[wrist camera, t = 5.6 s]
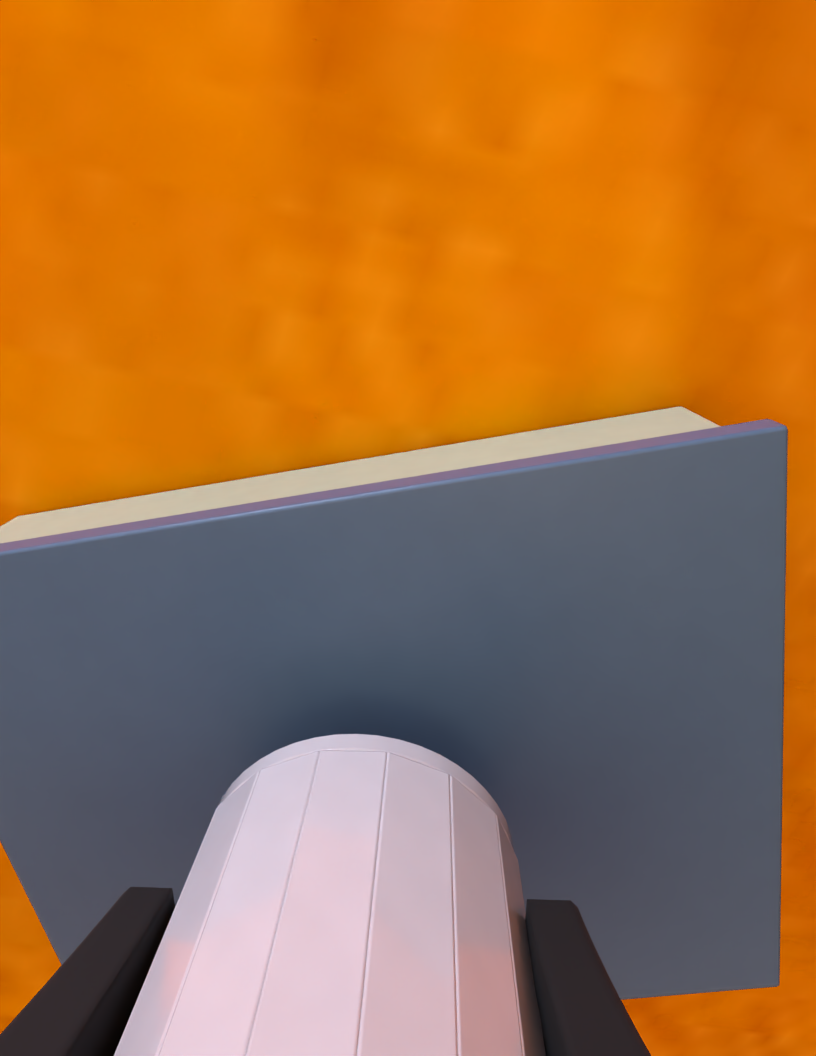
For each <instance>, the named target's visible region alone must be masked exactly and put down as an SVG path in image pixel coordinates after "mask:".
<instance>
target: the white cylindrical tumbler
mask: <svg viewBox="0 0 816 1056" xmlns="http://www.w3.org/2000/svg"><path fill="white" fill-rule="evenodd" d="M525 916H526V912H525V905H524V898H523V891H522V884H521V877H520V870H519V864H518V859H517V857H516V855H515V853H514V847H513V842H512V836H511V833H510V830H509V827H508V825H507V822H506V819H505V817H504V815H503V814H502V812H501V810H500V808H499V807H498V805H497V803H496V802H495V801H494V799H493V798H492V797H491V795H490V794H489V793H488V792H487V790H486V789H485V788H484V787H483V786H482V785H481V784H480V783H479V782H478V781H477V780H476V779H475V778H474V777H473V776H472V775H471V774H469V773H468V772H467V771H465V770H464V769H463V768H461V767H460V766H459V765H457V764H456V763H454V762H452V761H451V760H449V759H447V758H445V757H444V756H442V755H440V754H438V753H436V752H434V751H432V750H429V749H427V748H425V747H422V746H420V745H417V744H413V743H410V742H407V741H404V740H400V739H396V738H390V737H385V736H380V735H369V734H334V735H327V736H320V737H314V738H310V739H306V740H302V741H299V742H295V743H292V744H290V745H287V746H285V747H282V748H280V749H277V750H275V751H274V752H272V753H270V754H268V755H266V756H265V757H263V758H261V759H260V760H258V761H257V762H256V763H254V764H253V765H252V766H250V767H249V768H248V769H246V770H245V771H244V772H243V773H242V774H241V775H240V776H239V777H238V778H237V779H236V780H235V781H234V782H233V783H232V784H231V786H230V787H229V788H228V790H227V791H226V793H225V794H224V795H223V797H222V799H221V801H220V803H219V805H218V807H217V808H216V810H215V812H214V815H213V817H212V819H211V822H210V824H209V827H208V829H207V832H206V834H205V836H204V839H203V841H202V844H201V846H200V848H199V851H198V853H197V856H196V858H195V860H194V863H193V865H192V868H191V870H190V873H189V875H188V877H187V880H186V882H185V885H184V887H183V889H182V892H181V894H180V897H179V899H178V901H177V904H176V906H175V909H174V911H173V914H172V916H171V918H170V921H169V923H168V926H167V928H166V930H165V933H164V935H163V938H162V940H161V942H160V945H159V947H158V950H157V952H156V955H155V957H154V959H153V962H152V964H151V967H150V969H149V971H148V974H147V976H146V979H145V981H144V983H143V986H142V988H141V991H140V993H139V996H138V998H137V1000H136V1003H135V1005H134V1008H133V1010H132V1012H131V1015H130V1017H129V1020H128V1022H127V1025H126V1027H125V1029H124V1032H123V1034H122V1037H121V1039H120V1041H119V1044H118V1046H117V1049H116V1051H115V1053H114V1056H546V1052H545V1045H544V1038H543V1032H542V1025H541V1019H540V1013H539V1008H538V1003H537V997H536V992H535V985H534V978H533V971H532V964H531V957H530V950H529V942H528V935H527V928H526V921H525Z"/></svg>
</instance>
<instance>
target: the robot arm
mask: <svg viewBox="0 0 816 1056" xmlns="http://www.w3.org/2000/svg"><path fill="white" fill-rule="evenodd" d="M174 909H175V902H174V896H173V890H172V888H156V887H130V888H129V889H127V890H126V891H125V892H124V893H123V894H122V895H121V897H120V898H119V899H118V900H117V901H116V902H115V904H114V905H113V906H112V907H111V908H110V910H109V911H108V912H107V913H106V914H105V915H104V917H103V918H102V919H101V920H100V921H99V923H98V924H97V925H96V926H95V927H94V928H93V930H92V931H91V932H90V933H89V934H88V935H87V937H86V938H85V939H84V940H83V941H82V943H81V944H80V945H79V946H78V947H77V948H76V950H75V951H74V952H73V953H72V954H71V955H70V957H69V958H68V959H67V960H66V961H65V962H64V963H63V965H62V966H61V967H60V968H59V969H58V970H57V971H56V973H55V974H54V975H53V976H52V977H51V978H50V979H49V981H48V982H47V983H46V984H45V985H44V986H43V988H42V989H41V990H40V991H39V992H38V993H37V994H36V995H35V996H34V998H33V999H32V1000H31V1001H30V1002H29V1003H28V1004H27V1005H26V1006H25V1007H24V1009H23V1010H22V1011H21V1012H20V1013H19V1014H18V1015H17V1016H16V1017H15V1019H14V1020H13V1021H12V1022H11V1023H10V1024H9V1025H8V1026H7V1027H6V1029H5V1030H4V1031H3V1032H2V1033H1V1034H0V1056H114V1053H115V1051H116V1049H117V1046H118V1044H119V1041H120V1039H121V1037H122V1034H123V1032H124V1029H125V1027H126V1025H127V1022H128V1020H129V1017H130V1015H131V1012H132V1010H133V1008H134V1005H135V1003H136V1000H137V998H138V996H139V993H140V991H141V988H142V986H143V983H144V981H145V979H146V976H147V974H148V971H149V969H150V967H151V964H152V962H153V959H154V957H155V955H156V952H157V950H158V947H159V945H160V942H161V940H162V938H163V935H164V933H165V930H166V928H167V926H168V923H169V921H170V918H171V916H172V914H173V911H174ZM525 921H526V928H527V935H528V942H529V950H530V957H531V964H532V971H533V978H534V985H535V992H536V997H537V1003H538V1008H539V1013H540V1019H541V1025H542V1032H543V1038H544V1045H545V1052H546V1056H651V1055H650V1053H649V1051H648V1049H647V1048H646V1046H645V1044H644V1042H643V1040H642V1039H641V1037H640V1035H639V1033H638V1031H637V1030H636V1028H635V1026H634V1024H633V1022H632V1020H631V1018H630V1016H629V1015H628V1013H627V1011H626V1009H625V1007H624V1005H623V1003H622V1001H621V999H620V997H619V995H618V993H617V991H616V989H615V987H614V985H613V983H612V981H611V979H610V977H609V975H608V973H607V971H606V969H605V967H604V965H603V963H602V961H601V959H600V957H599V955H598V952H597V950H596V948H595V946H594V944H593V942H592V939H591V937H590V935H589V933H588V930H587V928H586V926H585V924H584V921H583V919H582V916H581V914H580V911H579V909H578V907H577V906H576V905H575V904H574V903H573V902H572V901H571V900H542V899H527V904H526V916H525Z"/></svg>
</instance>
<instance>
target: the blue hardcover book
mask: <svg viewBox="0 0 816 1056" xmlns="http://www.w3.org/2000/svg"><path fill="white" fill-rule="evenodd" d="M787 441H788V430H787V427H786V426H785V425H783V424H780V423H778V422H775V421H773V420H770V419H764V420H758V421H752V422H746V423H740V424H733V425H727V426H719V425H717V424H715V423H713V422H711V421H709V420H707V419H705V418H703V417H701V416H699V415H697V414H695V413H694V412H692V411H690V410H688V409H686V408H684V407H681V406H679V407H673V408H667V409H661V410H655V411H649V412H643V413H637V414H631V415H625V416H619V417H613V418H607V419H601V420H595V421H589V422H583V423H577V424H571V425H565V426H559V427H553V428H546V429H540V430H534V431H528V432H522V433H516V434H510V435H504V436H498V437H492V438H486V439H480V440H474V441H468V442H462V443H456V444H450V445H444V446H438V447H432V448H426V449H420V450H414V451H408V452H402V453H396V454H390V455H384V456H378V457H372V458H366V459H360V460H354V461H348V462H342V463H336V464H330V465H324V466H318V467H312V468H306V469H300V470H293V471H287V472H281V473H275V474H269V475H263V476H257V477H251V478H245V479H239V480H233V481H227V482H221V483H215V484H209V485H203V486H197V487H191V488H185V489H179V490H173V491H167V492H161V493H155V494H149V495H143V496H137V497H131V498H125V499H119V500H113V501H107V502H101V503H95V504H89V505H83V506H77V507H71V508H65V509H59V510H53V511H46V512H40V513H34V514H28V515H22V516H18V517H16V518H14V519H12V520H11V521H9V522H7V523H5V524H4V525H2V526H0V841H1V843H2V845H3V847H4V850H5V852H6V854H7V856H8V858H9V860H10V862H11V864H12V866H13V868H14V870H15V872H16V874H17V876H18V878H19V880H20V882H21V884H22V886H23V888H24V890H25V892H26V894H27V896H28V898H29V900H30V902H31V904H32V906H33V908H34V910H35V912H36V914H37V916H38V918H39V920H40V922H41V924H42V926H43V928H44V930H45V932H46V934H47V936H48V938H49V940H50V942H51V944H52V946H53V948H54V950H55V952H56V954H57V956H58V958H59V960H60V963H61V965H63V963H64V962H65V961H66V960H67V959H68V958H69V957H70V955H71V954H72V953H73V952H74V951H75V950H76V948H77V947H78V946H79V945H80V944H81V943H82V941H83V940H84V939H85V938H86V937H87V935H88V934H89V933H90V932H91V931H92V930H93V928H94V927H95V926H96V925H97V924H98V923H99V921H100V920H101V919H102V918H103V917H104V915H105V914H106V913H107V912H108V911H109V910H110V908H111V907H112V906H113V905H114V904H115V902H116V901H117V900H118V899H119V898H120V897H121V895H122V894H123V893H124V892H125V891H126V890H127V889H129V888H130V887H156V888H172V890H173V896H174V902H175V906H176V904H177V901H178V899H179V897H180V894H181V892H182V889H183V887H184V885H185V882H186V880H187V877H188V875H189V873H190V870H191V868H192V865H193V863H194V860H195V858H196V856H197V853H198V851H199V848H200V846H201V844H202V841H203V839H204V836H205V834H206V832H207V829H208V827H209V824H210V822H211V819H212V817H213V815H214V812H215V810H216V808H217V807H218V805H219V803H220V801H221V799H222V797H223V795H224V794H225V793H226V791H227V790H228V788H229V787H230V786H231V784H232V783H233V782H234V781H235V780H236V779H237V778H238V777H239V776H240V775H241V774H242V773H243V772H244V771H245V770H246V769H248V768H249V767H250V766H252V765H253V764H254V763H256V762H257V761H258V760H260V759H261V758H263V757H265V756H266V755H268V754H270V753H272V752H274V751H275V750H277V749H280V748H282V747H285V746H287V745H290V744H292V743H295V742H299V741H302V740H306V739H310V738H314V737H320V736H327V735H334V734H369V735H380V736H385V737H390V738H396V739H400V740H404V741H407V742H410V743H413V744H417V745H420V746H422V747H425V748H427V749H429V750H432V751H434V752H436V753H438V754H440V755H442V756H444V757H445V758H447V759H449V760H451V761H452V762H454V763H456V764H457V765H459V766H460V767H461V768H463V769H464V770H465V771H467V772H468V773H469V774H471V775H472V776H473V777H474V778H475V779H476V780H477V781H478V782H479V783H480V784H481V785H482V786H483V787H484V788H485V789H486V790H487V792H488V793H489V794H490V795H491V797H492V798H493V799H494V801H495V802H496V803H497V805H498V807H499V808H500V810H501V812H502V814H503V815H504V817H505V819H506V822H507V825H508V827H509V830H510V833H511V836H512V842H513V847H514V853H515V855H516V857H517V859H518V864H519V870H520V877H521V884H522V891H523V898H524V905H525V912H526V904H527V899H542V900H571V901H572V902H573V903H574V904H575V905H576V906H577V907H578V909H579V911H580V914H581V916H582V919H583V921H584V924H585V926H586V928H587V930H588V933H589V935H590V937H591V939H592V942H593V944H594V946H595V948H596V950H597V952H598V955H599V957H600V959H601V961H602V963H603V965H604V967H605V969H606V971H607V973H608V975H609V977H610V979H611V981H612V983H613V985H614V987H615V989H616V991H617V993H618V995H619V997H620V999H621V1000H622V999H634V998H646V997H658V996H670V995H682V994H694V993H706V992H718V991H729V990H741V989H753V988H765V987H777V986H779V971H780V905H781V839H782V773H783V706H784V640H785V574H786V508H787Z"/></svg>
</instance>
